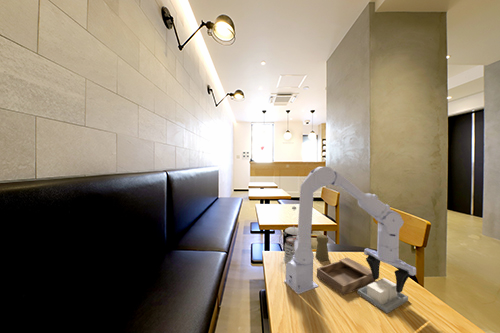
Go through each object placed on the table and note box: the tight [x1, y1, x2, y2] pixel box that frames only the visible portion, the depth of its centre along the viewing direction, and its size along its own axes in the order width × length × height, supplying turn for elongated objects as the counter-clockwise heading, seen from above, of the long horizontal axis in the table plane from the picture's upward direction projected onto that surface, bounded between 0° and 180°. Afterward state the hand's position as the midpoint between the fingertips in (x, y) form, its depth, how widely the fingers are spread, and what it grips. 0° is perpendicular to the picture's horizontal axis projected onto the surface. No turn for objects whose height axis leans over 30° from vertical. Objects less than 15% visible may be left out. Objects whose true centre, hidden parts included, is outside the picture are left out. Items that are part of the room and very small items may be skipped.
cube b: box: [376, 277, 397, 300], centre depth 61 cm, size 4×4×4 cm
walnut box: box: [316, 257, 376, 296], centre depth 69 cm, size 18×12×4 cm, turn 116°
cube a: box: [366, 281, 388, 305], centre depth 58 cm, size 4×4×4 cm
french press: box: [278, 206, 298, 264], centre depth 83 cm, size 10×12×25 cm
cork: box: [314, 234, 330, 263], centre depth 85 cm, size 6×6×11 cm
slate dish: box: [357, 280, 409, 314], centre depth 60 cm, size 12×9×2 cm
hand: (387, 284), depth 61 cm, fingers open, 6 cm apart
